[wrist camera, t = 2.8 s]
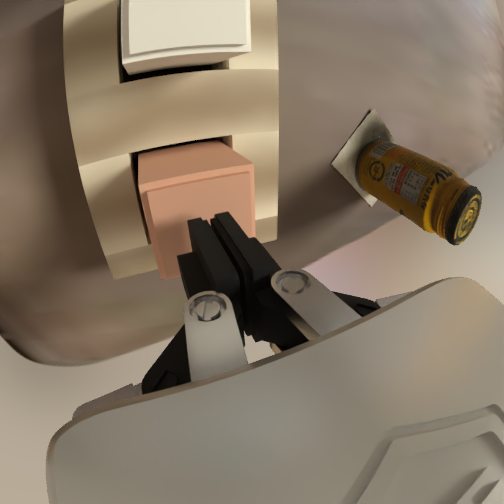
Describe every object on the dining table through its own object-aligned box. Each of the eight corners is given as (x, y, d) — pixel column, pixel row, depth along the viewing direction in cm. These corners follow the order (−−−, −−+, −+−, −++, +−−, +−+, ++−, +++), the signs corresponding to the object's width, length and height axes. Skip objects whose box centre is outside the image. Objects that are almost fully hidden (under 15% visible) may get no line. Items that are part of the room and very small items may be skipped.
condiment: (370, 206, 28) (452, 266, 19) (330, 163, 23) (436, 225, 14) (404, 158, 27) (490, 204, 17) (371, 107, 22) (482, 145, 12)
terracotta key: (138, 154, 15) (138, 187, 10) (217, 140, 16) (256, 165, 11) (152, 225, 18) (162, 284, 13) (222, 209, 19) (258, 259, 14)
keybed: (79, -3, 8) (67, -22, 5) (250, -19, 12) (274, -37, 9) (115, 249, 20) (114, 280, 17) (255, 216, 23) (276, 239, 20)
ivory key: (127, 2, 9) (123, -42, 4) (211, -5, 10) (251, -45, 6) (129, 75, 12) (121, 63, 7) (213, 64, 13) (254, 50, 8)
